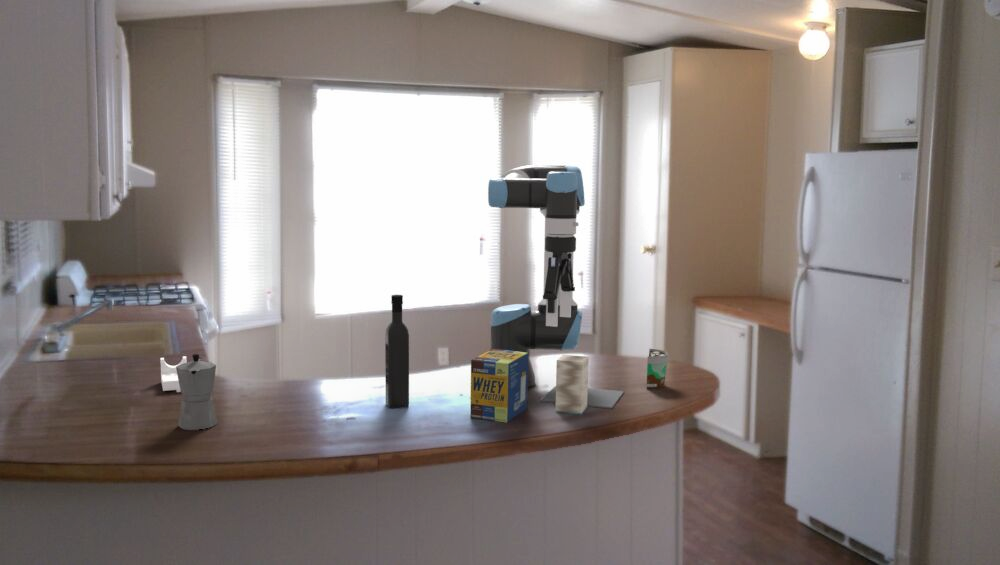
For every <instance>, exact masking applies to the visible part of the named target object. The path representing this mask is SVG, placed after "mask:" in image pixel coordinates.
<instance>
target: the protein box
mask: <svg viewBox="0 0 1000 565" xmlns="http://www.w3.org/2000/svg"><path fill="white" fill-rule="evenodd" d="M527 385H528V353H526V352H518V351H510V350H501V349H491V348H490V350H488V351H486V352H484V353H482V354H479V355H477V356H476V357H475V358H471V360H470V418H471V419H477V420H484V421H493V422H498V423H499V422H501V423H506V424H507V423H509V422H510V421H512V420H513V419H515V417H517V416H518V415H519V414H521V413H522V412H523V411H525V410H526V409H527V408H528V388H527Z"/></svg>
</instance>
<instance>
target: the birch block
mask: <svg viewBox="0 0 1000 565" xmlns="http://www.w3.org/2000/svg"><path fill="white" fill-rule="evenodd" d="M589 360H590V359H589V356H584V355H583V356H582V355H573V354H572V355H571V354H570V355H569V354H562V355H561V356H560V357H559V358H557V359H556V374H555V375H556V378H555V380H556V382H555V386H556V403H555V413H565V414H573V413H574V414H573V415H575V414H576V415H583V413H584V412H585V411H586V409H588V406H587V395H588V388H589Z"/></svg>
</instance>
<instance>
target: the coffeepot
mask: <svg viewBox="0 0 1000 565" xmlns="http://www.w3.org/2000/svg"><path fill="white" fill-rule="evenodd" d="M177 365H178V364H177ZM216 368H217V364H215V363H213V362H211V361H205V360H204V361H203V359H202V357H200V354H199V353H193V354H192V361H189V362H188V361H187V363H183V364H181V365H178V366H176V370H177V375H178V380H179V385H180V391H181V392H180V393H181V394H182V400H181V403H180V410H179V418H178V423H177V425H178V427H179V428H180V429H182V430H184V431H200V430H199V429H203V430H206V429H205V428H208V429H211V428H213V427H212V426H214V425H215V426H216V425H217V424H218V419H217V418H218V417H217V415H216V414H217V413H216V408H215V404H214V399H213V398H212V392H214V387H215V386H214V384H215V376H216V370H217V369H216ZM215 426H214V427H215ZM210 427H211V428H210Z"/></svg>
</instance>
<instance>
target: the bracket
mask: <svg viewBox="0 0 1000 565" xmlns="http://www.w3.org/2000/svg"><path fill="white" fill-rule="evenodd" d="M187 359H188V358H187V356H186V355H185V356H182V358H181V361H180V362H179V363H177V364H175V365H170V364H168V363H167V362H166V361H165V357H160V380H161V387H162V391H163V392H165V391H175V392H176V393H181V391H180V385H179V380H178V375H177V370H176V366H178V365H181V364H183V363H187V362H188V360H187Z"/></svg>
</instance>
